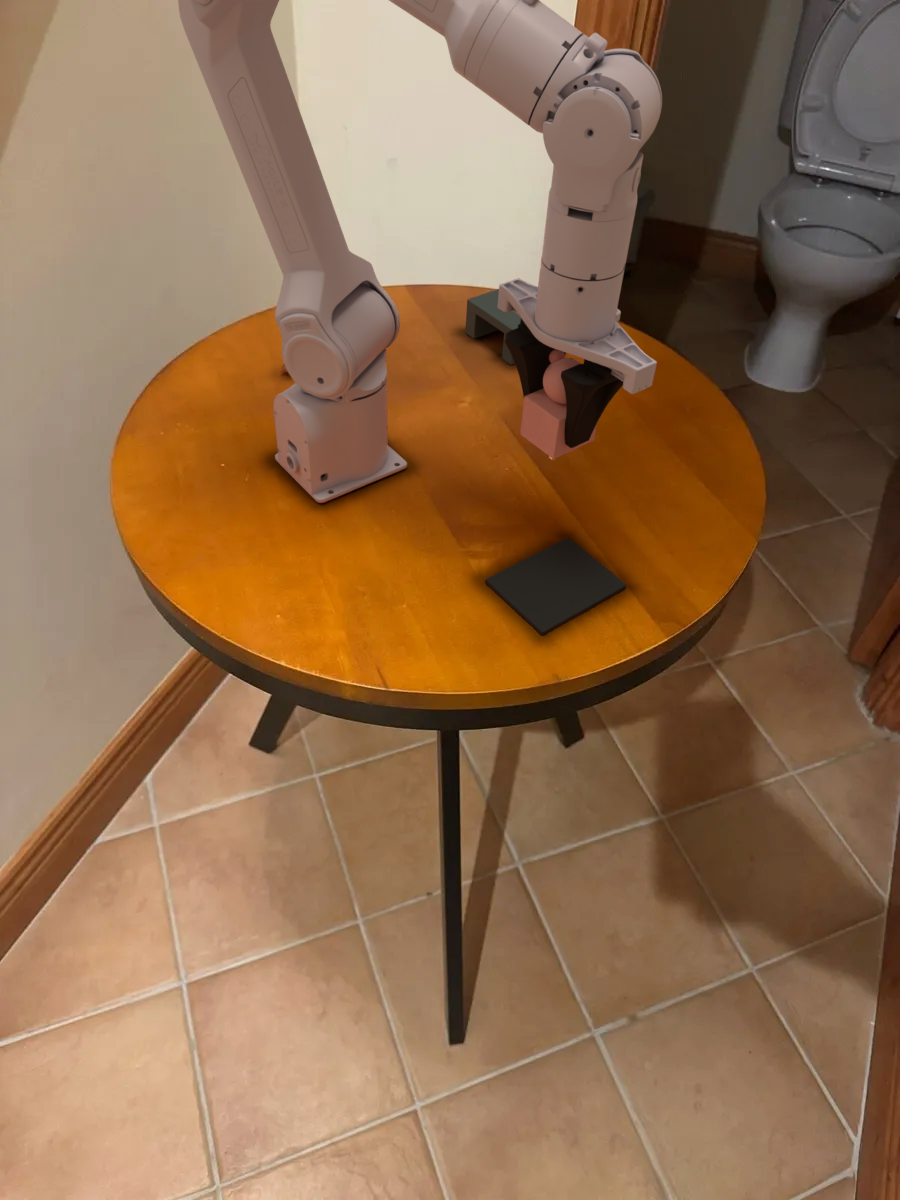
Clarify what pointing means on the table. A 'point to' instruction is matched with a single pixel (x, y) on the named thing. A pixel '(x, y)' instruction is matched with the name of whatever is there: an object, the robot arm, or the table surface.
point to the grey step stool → (490, 319)
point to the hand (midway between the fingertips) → (557, 428)
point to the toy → (549, 410)
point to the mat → (555, 585)
